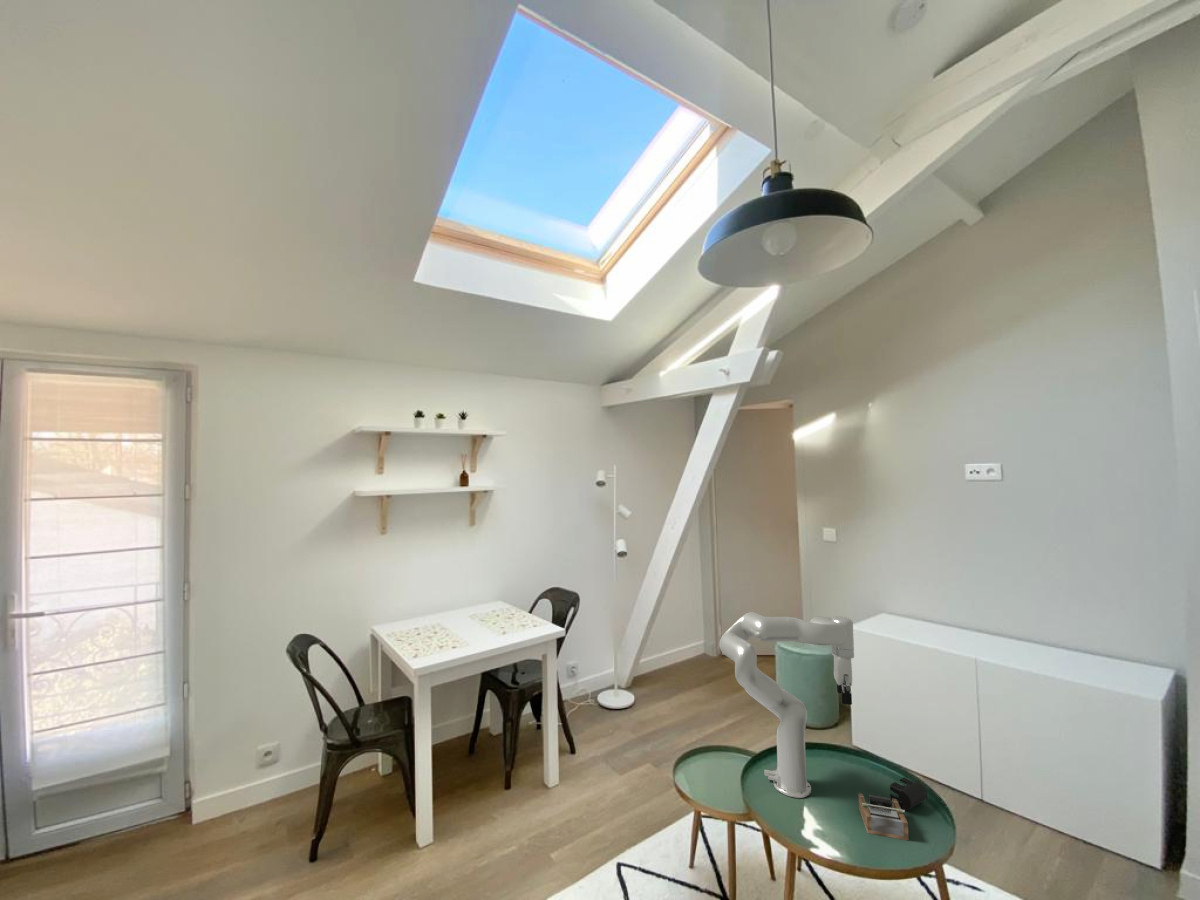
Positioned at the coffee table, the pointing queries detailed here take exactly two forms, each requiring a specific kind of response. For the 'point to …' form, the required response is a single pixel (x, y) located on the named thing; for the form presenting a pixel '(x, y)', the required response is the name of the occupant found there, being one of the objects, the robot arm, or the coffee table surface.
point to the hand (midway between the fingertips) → (844, 698)
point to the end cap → (908, 793)
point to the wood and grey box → (884, 822)
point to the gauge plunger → (882, 807)
